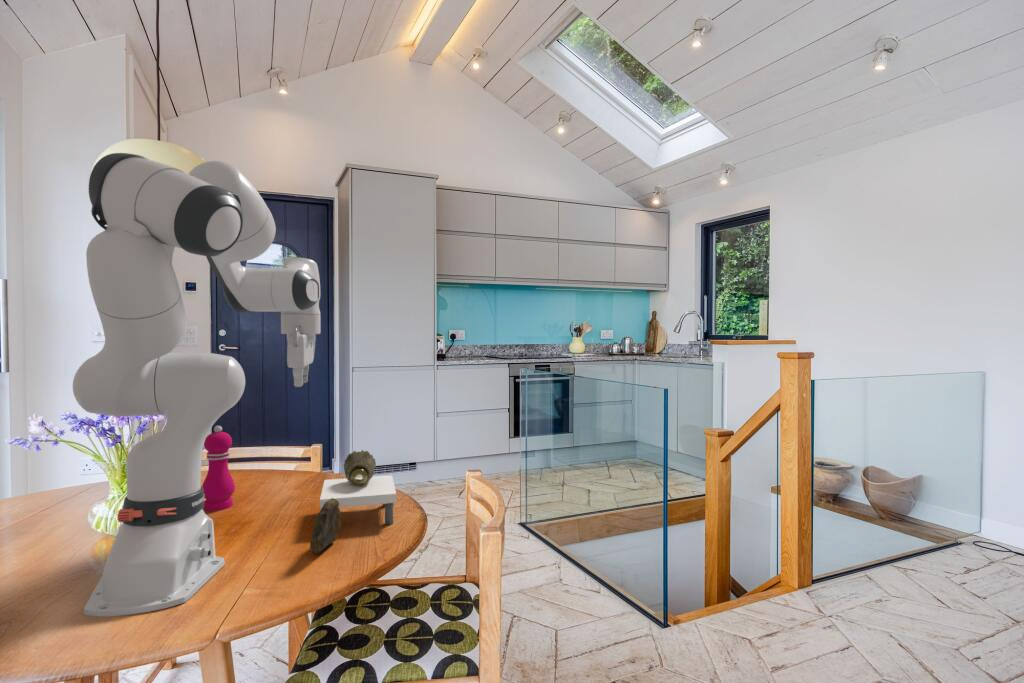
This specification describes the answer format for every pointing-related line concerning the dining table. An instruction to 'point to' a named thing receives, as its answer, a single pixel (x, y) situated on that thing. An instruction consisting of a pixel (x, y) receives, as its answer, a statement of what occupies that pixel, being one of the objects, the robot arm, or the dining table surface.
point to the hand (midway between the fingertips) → (301, 384)
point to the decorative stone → (326, 526)
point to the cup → (359, 467)
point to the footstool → (362, 493)
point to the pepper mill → (218, 472)
